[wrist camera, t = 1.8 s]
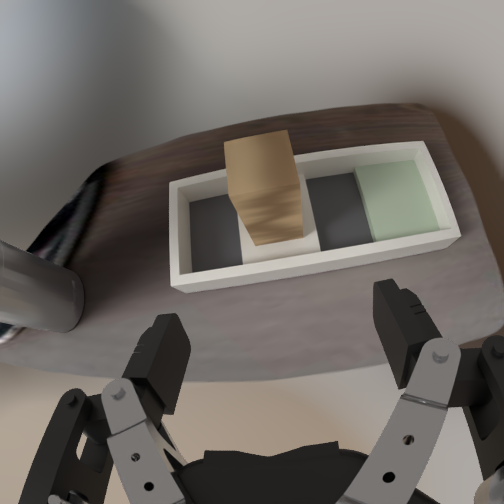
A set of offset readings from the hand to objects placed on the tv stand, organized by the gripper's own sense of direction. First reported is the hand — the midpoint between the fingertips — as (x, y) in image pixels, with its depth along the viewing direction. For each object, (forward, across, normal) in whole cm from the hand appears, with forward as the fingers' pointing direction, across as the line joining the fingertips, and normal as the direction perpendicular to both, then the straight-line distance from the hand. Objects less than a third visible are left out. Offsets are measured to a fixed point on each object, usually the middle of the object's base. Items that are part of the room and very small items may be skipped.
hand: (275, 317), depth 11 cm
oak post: (+20, 0, +4) cm, 21 cm away
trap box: (+21, -4, +5) cm, 22 cm away
